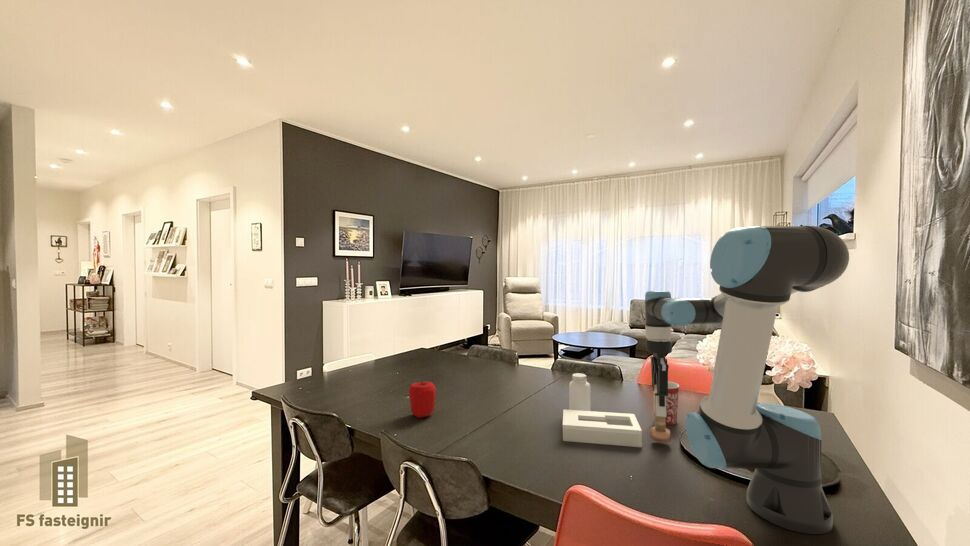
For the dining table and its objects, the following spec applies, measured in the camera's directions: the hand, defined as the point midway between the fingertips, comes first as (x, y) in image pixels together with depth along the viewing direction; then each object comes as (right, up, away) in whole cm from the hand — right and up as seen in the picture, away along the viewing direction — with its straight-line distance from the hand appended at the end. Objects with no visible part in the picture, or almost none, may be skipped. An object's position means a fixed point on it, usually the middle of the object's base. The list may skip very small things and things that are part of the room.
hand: (660, 413), depth 119 cm
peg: (0, -8, 0) cm, 8 cm away
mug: (+12, -10, +19) cm, 25 cm away
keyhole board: (-17, -10, +7) cm, 21 cm away
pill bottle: (-19, -10, +26) cm, 34 cm away
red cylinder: (-79, -11, +26) cm, 84 cm away
